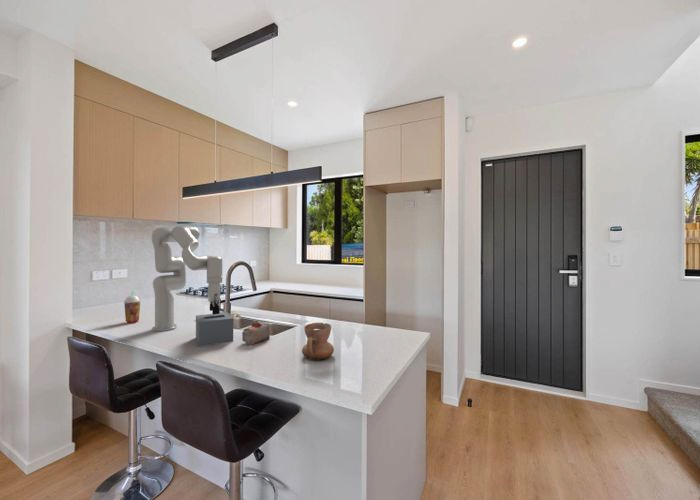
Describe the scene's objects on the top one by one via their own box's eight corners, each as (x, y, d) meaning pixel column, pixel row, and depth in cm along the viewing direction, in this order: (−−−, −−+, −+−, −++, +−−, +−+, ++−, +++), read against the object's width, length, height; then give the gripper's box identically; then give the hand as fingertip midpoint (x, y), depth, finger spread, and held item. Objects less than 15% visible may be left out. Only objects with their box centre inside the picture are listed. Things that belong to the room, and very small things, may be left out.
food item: (252, 346, 149) (252, 326, 149) (240, 343, 153) (240, 324, 152) (271, 338, 161) (271, 320, 161) (259, 336, 165) (260, 318, 165)
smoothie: (120, 323, 187) (120, 291, 186) (132, 320, 195) (132, 289, 194) (132, 324, 185) (132, 292, 185) (143, 321, 193) (143, 290, 193)
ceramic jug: (313, 348, 147) (312, 319, 147) (340, 352, 142) (339, 322, 141) (293, 362, 131) (292, 329, 130) (322, 367, 125) (322, 333, 125)
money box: (195, 337, 161) (195, 315, 161) (227, 333, 170) (227, 312, 170) (199, 346, 148) (199, 322, 148) (233, 341, 156) (233, 318, 156)
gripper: (204, 278, 163) (204, 309, 164) (209, 282, 149) (208, 316, 149) (219, 278, 168) (219, 308, 168) (225, 281, 153) (224, 314, 153)
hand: (214, 312), depth 159 cm, fingers open, 9 cm apart
